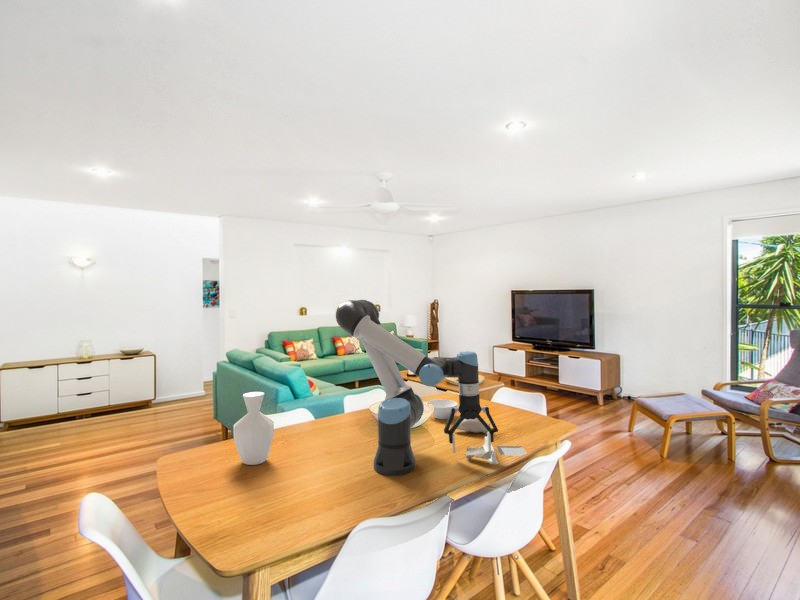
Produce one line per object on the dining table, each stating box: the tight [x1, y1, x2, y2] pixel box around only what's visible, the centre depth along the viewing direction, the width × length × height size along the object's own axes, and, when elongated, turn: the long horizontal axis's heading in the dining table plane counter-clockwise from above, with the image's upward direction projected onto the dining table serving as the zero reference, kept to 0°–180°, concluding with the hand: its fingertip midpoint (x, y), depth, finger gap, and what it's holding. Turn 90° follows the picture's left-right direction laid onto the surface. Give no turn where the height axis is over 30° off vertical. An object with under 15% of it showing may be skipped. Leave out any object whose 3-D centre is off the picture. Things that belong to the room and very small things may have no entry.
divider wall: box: [482, 436, 499, 465], centre depth 152 cm, size 3×18×4 cm, turn 177°
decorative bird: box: [456, 418, 491, 434], centre depth 177 cm, size 9×16×8 cm, turn 79°
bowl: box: [425, 398, 459, 420], centre depth 201 cm, size 16×16×7 cm
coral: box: [464, 445, 492, 460], centre depth 146 cm, size 6×10×4 cm, turn 55°
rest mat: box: [496, 445, 527, 457], centre depth 154 cm, size 12×12×1 cm
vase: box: [232, 391, 275, 466], centre depth 148 cm, size 14×14×25 cm
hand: (471, 451), depth 147 cm, fingers open, 12 cm apart
